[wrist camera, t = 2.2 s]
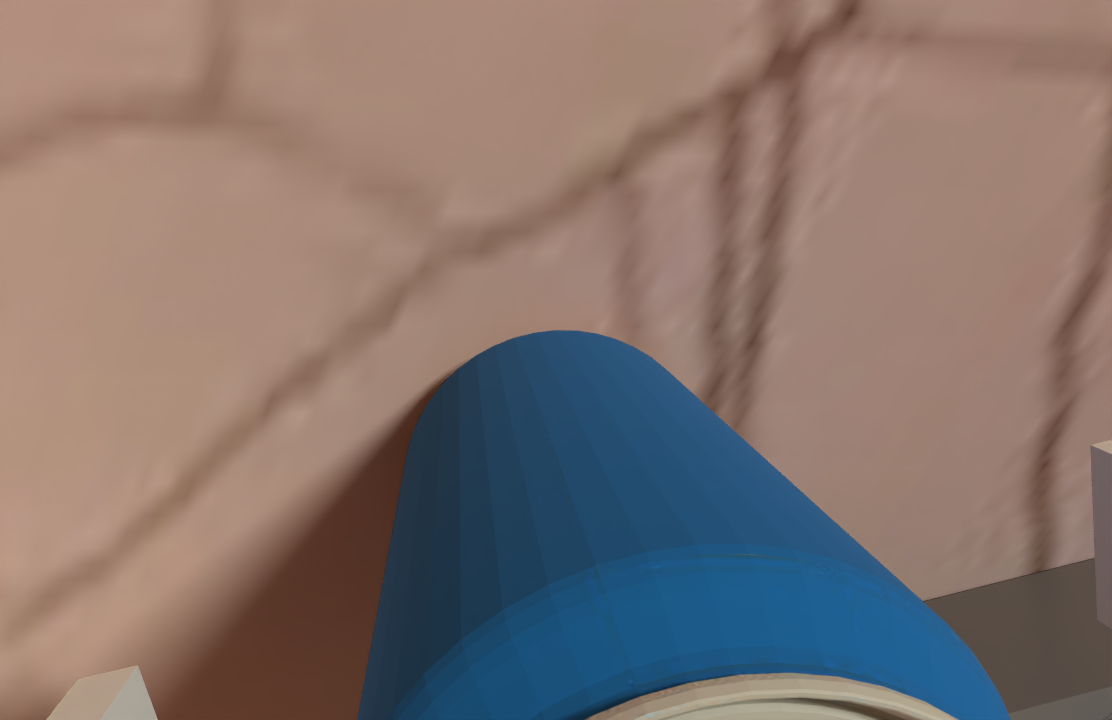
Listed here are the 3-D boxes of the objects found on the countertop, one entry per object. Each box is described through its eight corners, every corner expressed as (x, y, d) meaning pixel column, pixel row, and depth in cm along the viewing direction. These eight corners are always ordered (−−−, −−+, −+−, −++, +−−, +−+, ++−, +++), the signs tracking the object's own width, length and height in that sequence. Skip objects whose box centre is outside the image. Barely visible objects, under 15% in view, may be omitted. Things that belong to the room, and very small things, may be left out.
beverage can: (657, 620, 19) (980, 1331, 7) (380, 578, 18) (234, 1332, 6) (731, 356, 18) (1264, 696, 6) (439, 294, 17) (396, 561, 5)
